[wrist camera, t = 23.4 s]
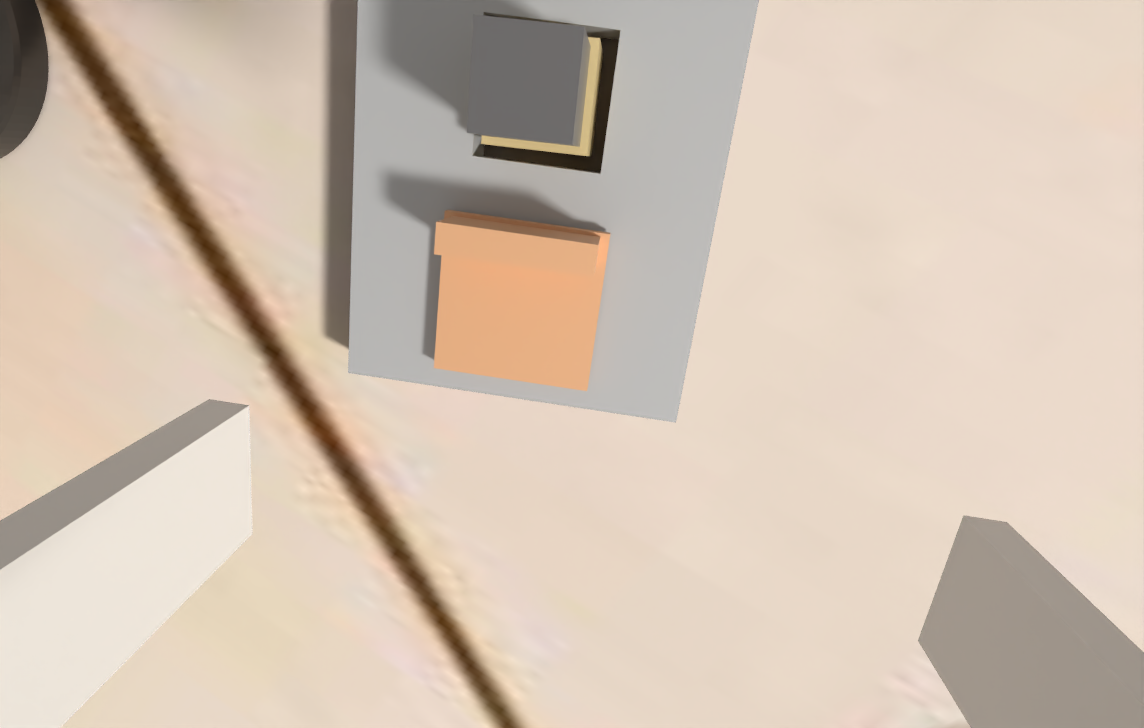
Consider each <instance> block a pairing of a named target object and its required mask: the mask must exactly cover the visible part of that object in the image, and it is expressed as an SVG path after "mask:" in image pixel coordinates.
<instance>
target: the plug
mask: <svg viewBox="0 0 1144 728" xmlns="http://www.w3.org/2000/svg"><path fill="white" fill-rule="evenodd" d="M602 60H603V51H602V46H601V41H600V38H593V37H588V36H587V32H586V29H585V26H576V25H567V24H558V23H548V22H539V21H530V20H520V19H511V18H502V17H493V16H483V15H474V14H473V30H472V48H471V66H470V84H469V101H468V119H467V133H471V134H477V135H482V140H481V144H487V145H495V146H504V147H513V148H521V149H530V150H538V151H547V152H556V153H564V154H573V155H582V156H592V149H593V140H594V131H595V122H596V113H597V105H598V96H599V87H600V78H601V69H602Z"/></svg>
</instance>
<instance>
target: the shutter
mask: <svg viewBox="0 0 1144 728" xmlns="http://www.w3.org/2000/svg"><path fill="white" fill-rule="evenodd" d="M610 234H611V233H609V232H602V231H595V230H588V229H581V228H574V227H567V226H560V225H553V224H545V223H538V222H531V221H524V220H517V219H510V218H503V217H496V216H489V215H482V214H475V213H468V212H461V211H454V210H446V211H445V213H444V219H443V220H440V221H437V222H436V231H435V246H434V254H435V255H442V256H441V271H440V285H439V300H438V314H437V329H436V344H435V358H434V368H436V369H443V370H449V371H456V372H463V373H469V374H476V375H483V376H489V377H496V378H503V379H509V380H516V381H523V382H529V383H536V384H542V385H549V386H556V387H562V388H569V389H576V390H582V391H587V389H588V383H589V376H590V369H591V362H592V356H593V349H594V342H595V335H596V329H597V322H598V315H599V308H600V302H601V295H602V288H603V281H604V275H605V268H606V261H607V254H608V248H609V241H610Z"/></svg>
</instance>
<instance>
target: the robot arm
mask: <svg viewBox="0 0 1144 728" xmlns="http://www.w3.org/2000/svg"><path fill="white" fill-rule="evenodd" d="M47 82H48V51H47V44H46V37H45V33H44V28H43V24H42V20H41V17H40V14H39V11H38V8H37V5H36V3H35V0H0V158H2V157H4V156H5V155H7V154H9V153H10V152H11V151H13V150H14V149H15V148H16V147H17V146H18V145H20V144H21V142H22V141H23V140H24V139H25V138H26V137H27V135H28V134H29V133H30V131H31V130H32V128H33V127H34V125H35V123H36V121H37V119H38V117H39V114H40V112H41V109H42V106H43V103H44V100H45V95H46V90H47ZM251 535H252V496H251V456H250V416H249V405H243V404H236V403H230V402H223V401H217V400H210V399H209V400H207V401H205V402H204V403H202V404H200V405H199V406H197V407H195V408H193V409H192V410H190V411H188V412H186V413H185V414H183V415H181V416H180V417H178V418H176V419H174V420H173V421H171V422H169V423H168V424H166V425H164V426H162V427H161V428H159V429H157V430H155V431H154V432H152V433H150V434H149V435H147V436H145V437H143V438H142V439H140V440H138V441H137V442H135V443H133V444H131V445H130V446H128V447H126V448H125V449H123V450H121V451H119V452H118V453H116V454H114V455H112V456H111V457H109V458H107V459H106V460H104V461H102V462H100V463H99V464H97V465H95V466H94V467H92V468H90V469H88V470H87V471H85V472H83V473H82V474H80V475H78V476H76V477H75V478H73V479H71V480H69V481H68V482H66V483H64V484H63V485H61V486H59V487H57V488H56V489H54V490H52V491H51V492H49V493H47V494H45V495H44V496H42V497H40V498H39V499H37V500H35V501H33V502H32V503H30V504H28V505H26V506H25V507H23V508H21V509H20V510H18V511H16V512H14V513H13V514H11V515H9V516H8V517H6V518H4V519H2V520H1V521H0V728H61V727H62V726H63V725H64V724H65V723H66V721H67V720H68V719H69V718H70V717H71V716H72V715H73V714H74V713H75V712H76V711H77V710H78V709H79V708H80V707H81V706H82V705H83V704H84V703H85V702H86V701H87V700H88V699H89V698H90V697H91V696H92V695H93V694H94V693H95V692H96V691H97V690H98V689H99V688H100V687H101V686H102V685H103V684H104V683H105V682H106V681H107V680H108V679H109V678H110V677H111V676H112V675H113V674H114V673H115V672H116V671H117V670H118V669H119V668H120V667H121V666H122V665H123V664H124V663H125V662H126V661H127V660H128V659H129V658H130V657H131V656H132V655H133V654H134V653H135V652H136V651H137V650H138V649H139V648H140V647H141V646H142V645H143V644H144V643H145V642H146V641H147V640H148V639H149V638H150V637H151V636H152V635H153V634H154V633H155V632H156V631H157V630H158V629H159V628H160V627H161V626H162V625H163V624H164V623H165V621H166V620H167V619H168V618H169V617H170V616H171V615H172V614H173V613H174V612H175V611H176V610H177V609H178V608H179V607H180V606H181V605H182V604H183V603H184V602H185V601H186V600H187V599H188V598H189V597H190V596H191V595H192V594H193V593H194V592H195V591H196V590H197V589H198V588H199V587H200V586H201V585H202V584H203V583H204V582H205V581H206V580H207V579H208V578H209V577H210V576H211V575H212V574H213V573H214V572H215V571H216V570H217V569H218V568H219V567H220V566H221V565H222V564H223V563H224V562H225V561H226V560H227V559H228V558H229V557H230V556H231V555H232V554H233V553H234V552H235V551H236V550H237V549H238V548H239V547H240V546H241V545H242V544H243V543H244V542H245V541H246V540H247V539H248V538H249V537H250V536H251ZM918 641H919V643H920V645H921V646H922V648H923V650H924V651H925V653H926V655H927V656H928V658H929V659H930V661H931V663H932V664H933V666H934V668H935V669H936V671H937V673H938V674H939V676H940V678H941V679H942V681H943V683H944V684H945V686H946V687H947V689H948V691H949V692H950V694H951V696H952V697H953V699H954V701H955V702H956V704H957V706H958V707H959V709H960V710H961V712H962V714H963V715H964V717H965V719H966V720H967V722H968V724H969V725H970V727H971V728H1144V652H1143V651H1142V650H1141V649H1139V648H1138V647H1137V646H1136V645H1135V644H1134V643H1133V642H1132V641H1131V640H1130V639H1129V638H1128V637H1127V636H1126V635H1125V634H1124V633H1123V632H1122V631H1121V630H1120V629H1118V628H1117V627H1116V626H1115V625H1114V624H1113V623H1112V622H1111V621H1110V620H1109V619H1108V618H1107V617H1106V616H1105V615H1104V614H1103V613H1102V612H1101V611H1100V610H1099V609H1097V608H1096V607H1095V606H1094V605H1093V604H1092V603H1091V602H1090V601H1089V600H1088V599H1087V598H1086V597H1085V596H1084V595H1083V594H1082V593H1081V592H1080V591H1079V590H1078V589H1076V588H1075V587H1074V586H1073V585H1072V584H1071V583H1070V582H1069V581H1068V580H1067V579H1066V578H1065V577H1064V576H1063V575H1062V574H1061V573H1060V572H1059V571H1058V570H1057V569H1055V568H1054V567H1053V566H1052V565H1051V564H1050V563H1049V562H1048V561H1047V560H1046V559H1045V558H1044V557H1043V556H1042V555H1041V554H1040V553H1039V552H1038V551H1037V550H1036V549H1034V548H1033V547H1032V546H1031V545H1030V544H1029V543H1028V542H1027V541H1026V540H1025V539H1024V538H1023V537H1022V536H1021V535H1020V534H1019V533H1018V532H1017V531H1016V530H1015V529H1014V528H1012V527H1011V526H1010V525H1009V524H1008V523H1007V522H1002V521H996V520H989V519H983V518H976V517H970V516H963V518H962V521H961V524H960V527H959V529H958V532H957V535H956V538H955V540H954V543H953V546H952V549H951V551H950V554H949V557H948V560H947V562H946V565H945V568H944V571H943V573H942V576H941V579H940V582H939V584H938V587H937V590H936V593H935V595H934V598H933V601H932V604H931V606H930V609H929V612H928V615H927V617H926V620H925V623H924V626H923V628H922V631H921V634H920V637H919V639H918Z"/></svg>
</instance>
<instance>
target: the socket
mask: <svg viewBox="0 0 1144 728" xmlns="http://www.w3.org/2000/svg"><path fill="white" fill-rule="evenodd" d="M758 2H759V0H358V12H357V51H356V90H355V129H354V168H353V207H352V246H351V285H350V324H349V363H348V373H353V374H359V375H366V376H372V377H379V378H386V379H392V380H399V381H405V382H412V383H419V384H425V385H432V386H438V387H445V388H452V389H458V390H465V391H471V392H478V393H485V394H491V395H498V396H504V397H511V398H518V399H524V400H531V401H537V402H544V403H551V404H557V405H564V406H570V407H577V408H584V409H590V410H597V411H603V412H610V413H617V414H623V415H630V416H636V417H643V418H650V419H656V420H663V421H669V422H676V419H677V414H678V409H679V404H680V399H681V394H682V389H683V384H684V378H685V373H686V368H687V363H688V358H689V353H690V348H691V343H692V338H693V333H694V328H695V323H696V317H697V312H698V307H699V302H700V297H701V292H702V287H703V282H704V277H705V272H706V267H707V261H708V256H709V251H710V246H711V241H712V236H713V231H714V226H715V221H716V216H717V211H718V206H719V200H720V195H721V190H722V185H723V180H724V175H725V170H726V165H727V160H728V155H729V150H730V145H731V139H732V134H733V129H734V124H735V119H736V114H737V109H738V104H739V99H740V94H741V89H742V83H743V78H744V73H745V68H746V63H747V58H748V53H749V48H750V43H751V38H752V33H753V28H754V22H755V17H756V12H757V7H758ZM473 14H474V15H483V16H493V17H502V18H511V19H520V20H530V21H539V22H548V23H558V24H567V25H576V26H585V29H586V32H587V36H593V37H600V38H608V39H616V40H619V45H618V52H617V60H616V67H615V74H614V81H613V88H612V95H611V103H610V110H609V117H608V124H607V131H606V138H605V146H604V153H603V160H602V167H601V172H595V171H587V170H580V169H573V168H566V167H559V166H551V165H544V164H537V163H530V162H523V161H516V160H508V159H501V158H494V157H487V156H484V144H481V140H482V135H477V134H471V133H467V119H468V101H469V84H470V66H471V48H472V30H473ZM446 210H454V211H461V212H468V213H475V214H482V215H489V216H496V217H503V218H510V219H517V220H524V221H531V222H538V223H545V224H553V225H560V226H567V227H574V228H581V229H588V230H595V231H602V232H609V233H611V234H610V241H609V248H608V254H607V261H606V268H605V275H604V281H603V288H602V295H601V302H600V308H599V315H598V322H597V329H596V335H595V342H594V349H593V356H592V362H591V369H590V376H589V383H588V389H587V391H582V390H576V389H569V388H562V387H556V386H549V385H542V384H536V383H529V382H523V381H516V380H509V379H503V378H496V377H489V376H483V375H476V374H469V373H463V372H456V371H449V370H443V369H436V368H434V358H435V344H436V329H437V314H438V300H439V285H440V271H441V256H442V255H435V254H434V246H435V231H436V222H437V221H440V220H443V219H444V213H445V211H446Z"/></svg>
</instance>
